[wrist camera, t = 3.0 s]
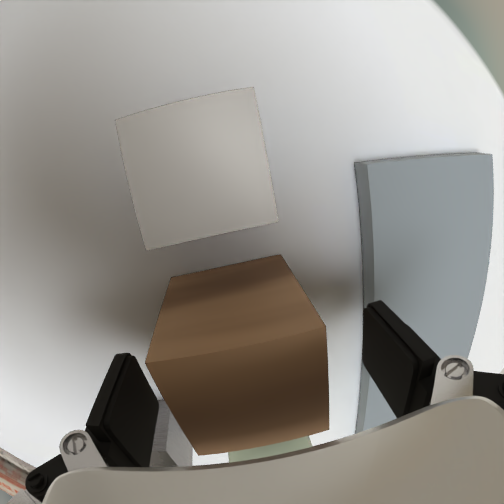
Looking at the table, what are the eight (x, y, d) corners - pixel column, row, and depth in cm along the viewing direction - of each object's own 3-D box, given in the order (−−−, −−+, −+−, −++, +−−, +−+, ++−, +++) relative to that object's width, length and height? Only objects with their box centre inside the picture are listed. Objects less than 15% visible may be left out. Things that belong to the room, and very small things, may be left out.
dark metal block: (114, 402, 15) (100, 450, 11) (171, 397, 15) (165, 451, 12) (140, 437, 16) (133, 482, 13) (192, 434, 17) (192, 482, 13)
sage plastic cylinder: (216, 390, 15) (220, 461, 11) (292, 374, 16) (316, 442, 11) (233, 431, 17) (240, 493, 12) (298, 418, 17) (317, 477, 12)
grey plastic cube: (146, 130, 11) (115, 120, 7) (241, 108, 11) (253, 87, 7) (167, 221, 12) (145, 250, 8) (259, 201, 12) (278, 222, 9)
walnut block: (171, 277, 13) (144, 362, 7) (280, 253, 13) (325, 326, 7) (200, 361, 15) (198, 455, 9) (293, 342, 15) (329, 429, 9)
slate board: (354, 162, 12) (366, 163, 11) (478, 152, 13) (492, 154, 11) (355, 435, 19) (360, 446, 18) (444, 395, 19) (450, 403, 18)
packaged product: (-25, 476, 14) (-50, 444, 11) (-15, 454, 18) (-35, 419, 16) (88, 534, 18) (82, 520, 15) (92, 508, 22) (89, 487, 20)
